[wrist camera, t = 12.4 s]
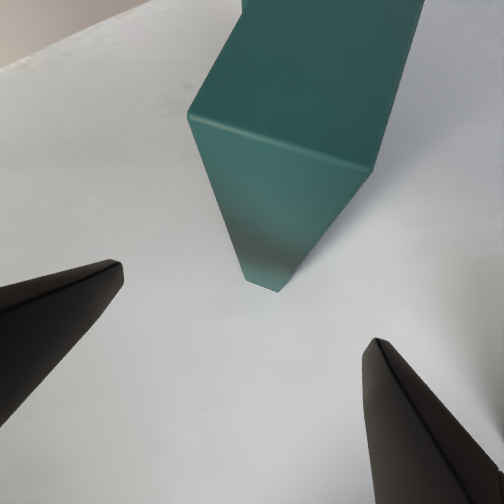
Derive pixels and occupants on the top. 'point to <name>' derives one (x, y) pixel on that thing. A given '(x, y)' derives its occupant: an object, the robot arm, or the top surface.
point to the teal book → (297, 120)
